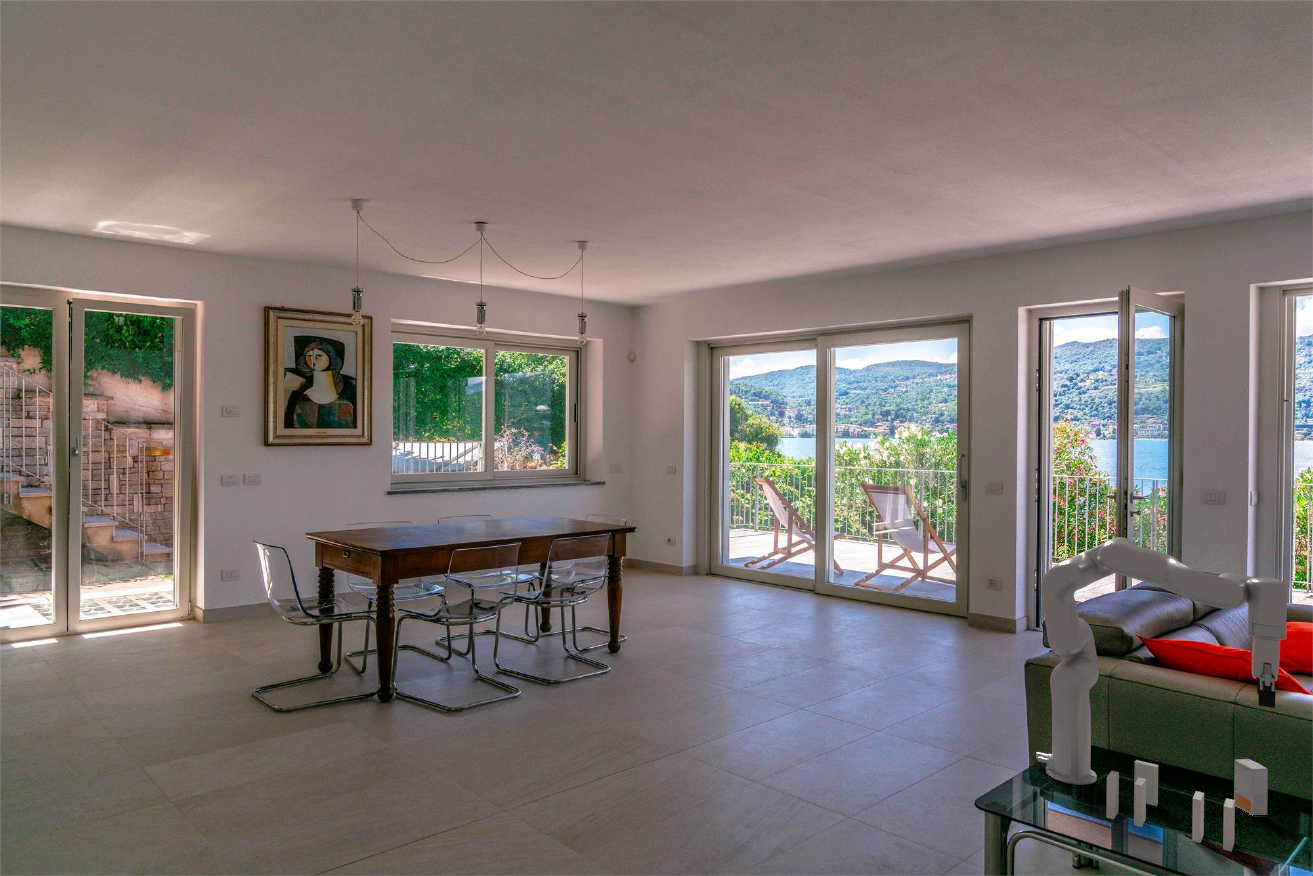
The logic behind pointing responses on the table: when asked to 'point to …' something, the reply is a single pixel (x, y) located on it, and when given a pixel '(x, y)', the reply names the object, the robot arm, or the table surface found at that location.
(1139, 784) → the domino
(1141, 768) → the domino
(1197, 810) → the domino
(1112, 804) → the domino
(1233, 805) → the domino
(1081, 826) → the table surface
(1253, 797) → the skincare box
